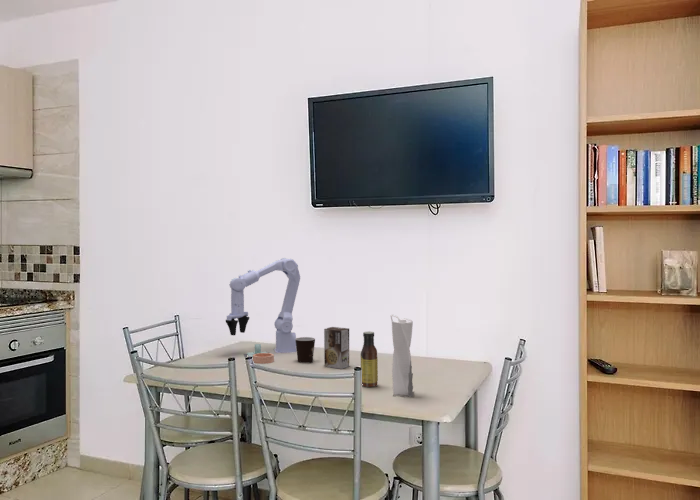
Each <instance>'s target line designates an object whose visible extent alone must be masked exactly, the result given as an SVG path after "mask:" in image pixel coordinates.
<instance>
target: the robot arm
mask: <svg viewBox="0 0 700 500" xmlns="http://www.w3.org/2000/svg"><path fill="white" fill-rule="evenodd" d="M275 271H277V272H278V271H281V272H283V273H284V275H285V276H286V277H287V279H288V282H287V284H286V285H287V286H286V290H285V294H284V298H283V302H282V306H281V310H280V312H279V313H278V315H277V318H276V319H275V321H274V328H275V329H276V331H275V348H274V349H273V350H274V352H275V354H284V353H285V354H286V353H297V349H296V340H295V339H296V338H297V336H296V335H297V334H296V332H292V330H293V327H294V325H293V310H294V306H295V301H296V297H297V294H298V289H299V285H300V282H301V274H300V271H299V265H298V263H297V262H296V261H295V260H294V259H292V258H286V257H282V258H280V259H277V260H275V261H273V262H271V263H269V264H267V265H265V266H264V267H262V268H259V269H258V270H254V269H252V270H251V269H248V270H247V272H246V273H244V274H239V275H238V277H235V278H234V277H233V278H232V279H231V281H230V282H229V288H230V290H231V291H230V293H231V294H230V311H231V312H230V313H229V314H227V315H226V319H225V324H226V325H227V327H228V329H229V333H230V334H229V335H230V336H236V335H237V326H238V325H239V332H240V333H243V334H244V333H245V332H246V328H247V325H248V322H249V320H250V317H249V312H248V311H245V295H244V291H245V288H247V287H249V286H251V285H254V284H255V283H258V282H259V280H260V278H262V277H264V276H266V275H269V274H271V273H273V272H275Z"/></svg>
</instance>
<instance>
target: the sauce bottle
mask: <svg viewBox="0 0 700 500" xmlns="http://www.w3.org/2000/svg"><path fill="white" fill-rule="evenodd" d="M362 336H363V345H362V348H361V351H360V369H361V368H362V384H363V387H365V388H366V387H367V388H374V387H377V385H378V380H379V375H378V373H379V371H378V366H379V364H378V361H379V360H378V349H377V347H376V346H375V339H374V338H375V332H374V331H370V330H369V331H364V332H363V334H362ZM362 384H361V385H362Z"/></svg>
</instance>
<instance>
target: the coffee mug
mask: <svg viewBox="0 0 700 500" xmlns="http://www.w3.org/2000/svg"><path fill="white" fill-rule="evenodd" d="M295 340H296V356H297V362H298V363H300V364H301V363H303V364H311V363H313V361H314V351H315V343H316V338H315V337H312V336H311V337H309V336H301V337H296V339H295Z"/></svg>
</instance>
